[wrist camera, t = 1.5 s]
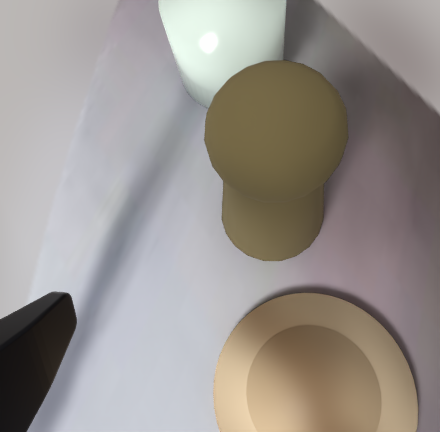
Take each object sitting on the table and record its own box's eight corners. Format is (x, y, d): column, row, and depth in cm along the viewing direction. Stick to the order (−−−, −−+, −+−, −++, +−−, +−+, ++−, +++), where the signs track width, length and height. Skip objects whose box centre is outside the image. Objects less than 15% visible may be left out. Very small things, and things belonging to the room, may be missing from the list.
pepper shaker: (292, 149, 24) (312, 5, 14) (343, 233, 22) (410, 138, 12) (205, 191, 24) (158, 76, 13) (248, 279, 22) (232, 224, 12)
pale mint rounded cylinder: (233, 131, 25) (223, 70, 19) (161, 74, 27) (132, 4, 21) (304, 61, 26) (314, -17, 20) (229, 11, 28) (219, -72, 22)
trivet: (325, 561, 18) (327, 568, 17) (176, 393, 20) (173, 394, 20) (456, 391, 19) (462, 392, 18) (299, 256, 22) (300, 254, 21)
